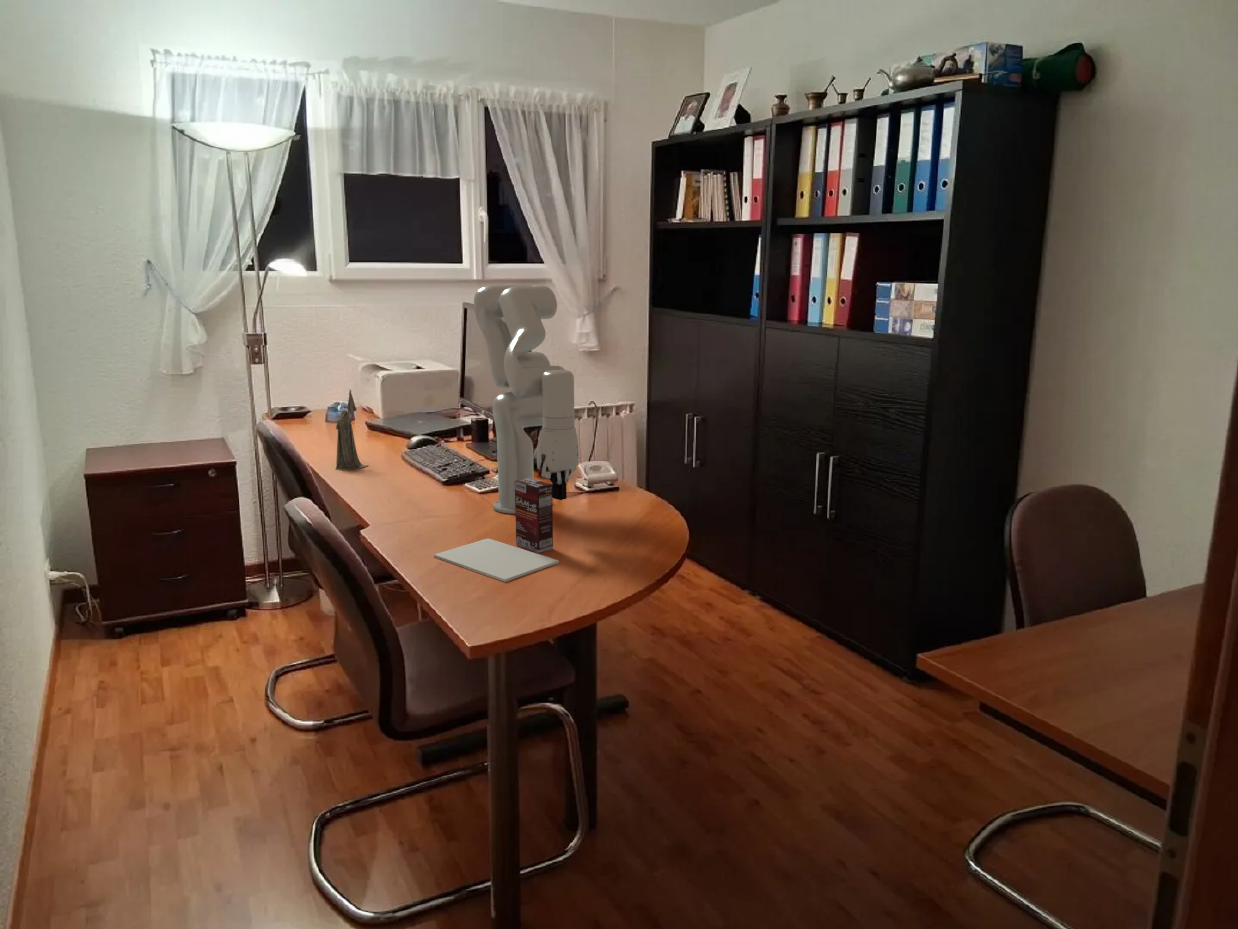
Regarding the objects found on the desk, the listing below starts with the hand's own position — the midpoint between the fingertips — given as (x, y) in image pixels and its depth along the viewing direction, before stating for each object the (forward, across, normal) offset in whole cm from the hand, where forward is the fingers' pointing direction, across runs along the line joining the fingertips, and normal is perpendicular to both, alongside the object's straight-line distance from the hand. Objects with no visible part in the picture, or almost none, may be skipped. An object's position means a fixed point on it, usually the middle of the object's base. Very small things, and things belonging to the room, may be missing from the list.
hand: (559, 498), depth 214 cm
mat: (+10, +20, 0) cm, 23 cm away
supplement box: (+10, +8, 0) cm, 13 cm away
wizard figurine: (+10, -10, -103) cm, 104 cm away
